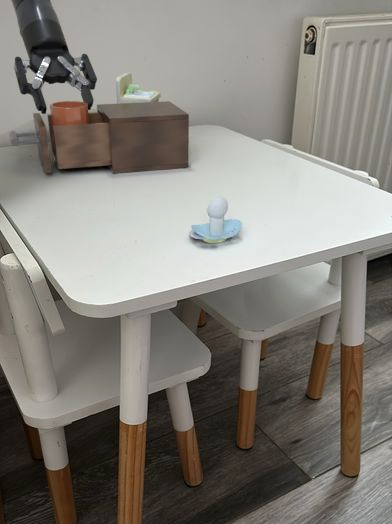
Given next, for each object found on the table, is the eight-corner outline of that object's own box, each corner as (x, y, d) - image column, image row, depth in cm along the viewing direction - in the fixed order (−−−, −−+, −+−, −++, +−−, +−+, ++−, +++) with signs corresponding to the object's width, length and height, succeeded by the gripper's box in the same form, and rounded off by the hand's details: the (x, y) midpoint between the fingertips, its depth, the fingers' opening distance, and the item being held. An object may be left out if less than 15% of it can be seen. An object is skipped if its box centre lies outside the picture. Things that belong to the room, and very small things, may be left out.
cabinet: (113, 173, 103) (109, 118, 97) (100, 155, 112) (96, 104, 107) (188, 167, 107) (188, 114, 101) (170, 150, 116) (169, 101, 111)
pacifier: (180, 235, 80) (199, 249, 75) (180, 191, 76) (199, 204, 72) (225, 227, 82) (246, 240, 78) (227, 184, 79) (248, 196, 75)
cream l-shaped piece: (152, 147, 118) (150, 79, 111) (119, 144, 120) (115, 77, 112) (162, 137, 125) (160, 73, 118) (130, 135, 126) (127, 71, 119)
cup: (50, 159, 103) (43, 106, 98) (64, 150, 108) (58, 99, 103) (84, 161, 102) (79, 109, 97) (96, 152, 107) (92, 102, 102)
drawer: (16, 175, 98) (8, 128, 94) (12, 157, 107) (5, 114, 103) (119, 167, 103) (116, 122, 99) (107, 151, 112) (104, 109, 108)
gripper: (3, 17, 98) (30, 99, 96) (81, 16, 104) (107, 93, 102) (2, 48, 105) (27, 125, 103) (75, 45, 111) (100, 118, 109)
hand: (67, 109), depth 103 cm, fingers open, 8 cm apart
